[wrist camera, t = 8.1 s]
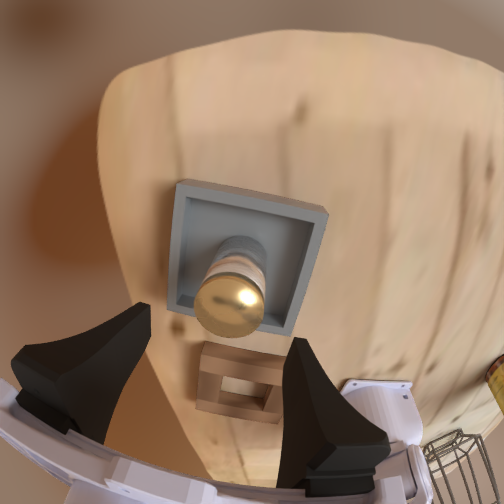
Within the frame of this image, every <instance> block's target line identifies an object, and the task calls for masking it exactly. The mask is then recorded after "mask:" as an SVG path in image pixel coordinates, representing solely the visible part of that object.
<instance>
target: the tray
mask: <svg viewBox="0 0 504 504" xmlns="http://www.w3.org/2000/svg"><path fill="white" fill-rule="evenodd" d="M328 217H329V214H328V213H327V211H326V210H325V208H324V207H323V206H319V205H315V204H311V203H307V202H302V201H298V200H294V199H289V198H285V197H280V196H276V195H271V194H266V193H262V192H257V191H252V190H247V189H242V188H237V187H232V186H226V185H221V184H215V183H210V182H204V181H198V180H192V179H186V180H183V181H181V182H179V183H177V184H176V192H175V201H174V210H173V219H172V230H171V242H170V255H169V270H168V289H167V310H169V311H173V312H177V313H181V314H185V315H189V316H193V317H196V315H195V312H194V300H195V297H196V295H197V292H198V290H199V288H200V286H201V284H202V282H203V280H204V278H205V276H206V274H207V272H208V270H209V267H210V265H211V263H212V261H213V259H214V257H215V255H216V253H217V251H218V249H219V247H220V246H221V244H222V243H223V242H224V241H225V240H227V239H229V238H231V237H234V236H248V237H251V238H253V239H255V240H257V241H258V242H259V243H260V244H261V245H262V246H263V247H264V249H265V251H266V254H267V275H266V289H265V303H264V315H263V320H262V322H261V324H260V326H259V327H258V328H257V329H256V331H262V332H267V333H272V334H278V335H284V336H289V337H290V336H291V333H292V331H293V328H294V325H295V322H296V319H297V316H298V313H299V311H300V308H301V305H302V302H303V299H304V296H305V293H306V290H307V287H308V283H309V280H310V277H311V274H312V271H313V268H314V264H315V261H316V258H317V255H318V251H319V248H320V245H321V241H322V238H323V234H324V231H325V227H326V224H327V220H328Z"/></svg>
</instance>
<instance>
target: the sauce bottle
mask: <svg viewBox="0 0 504 504" xmlns="http://www.w3.org/2000/svg"><path fill="white" fill-rule="evenodd" d="M486 381H487V383H488V386H489V388H490V390H491V392H492V394H493V395H494V397H495V399H496V401H497V403H498V405H499V407H500V409H501V411H502V413H503V415H504V356H501V357H500V358H498V359H497V361H496V362H495V363H494V364H493V365H492V366H491V368H490V369H489V371H488V372H487V374H486Z"/></svg>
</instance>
